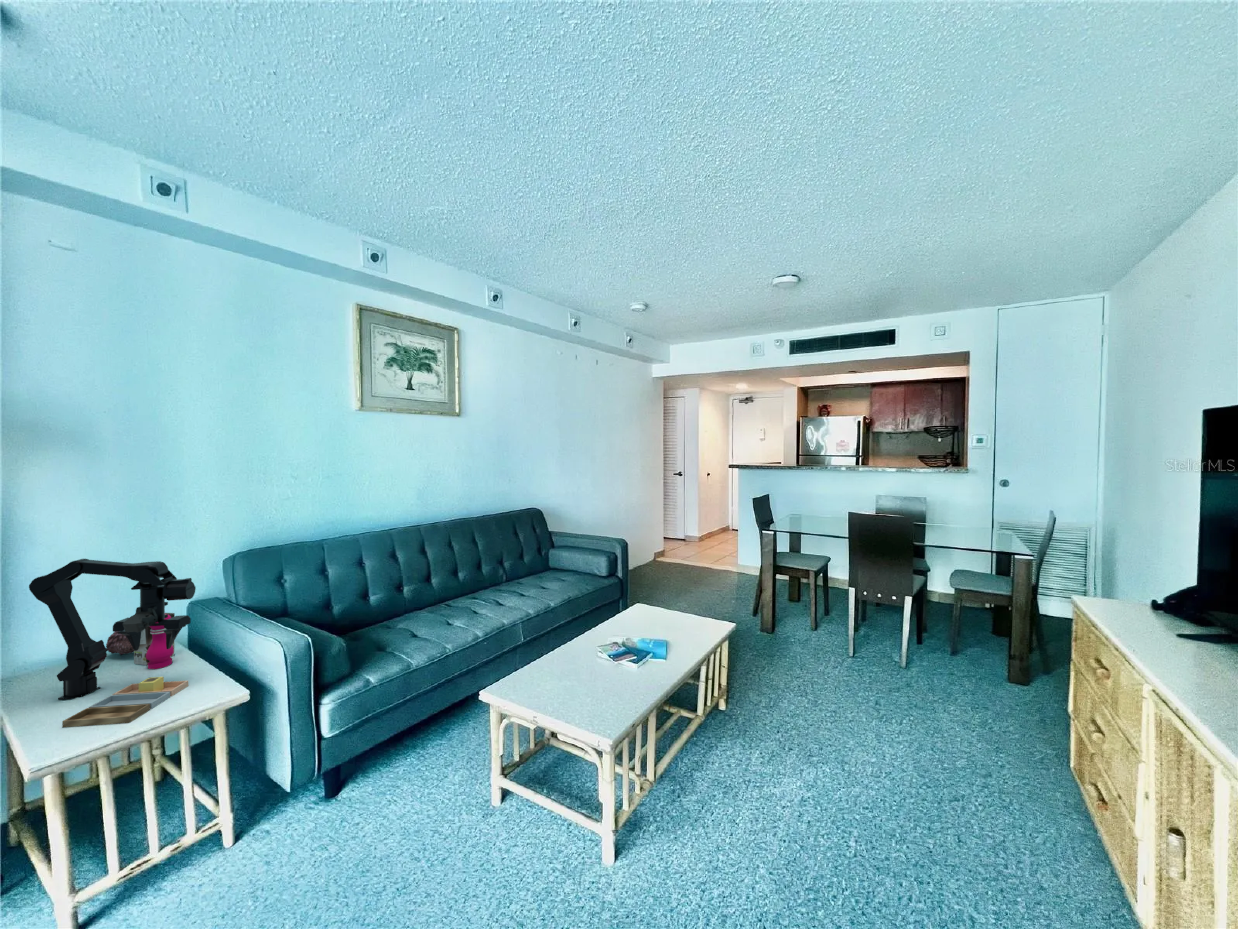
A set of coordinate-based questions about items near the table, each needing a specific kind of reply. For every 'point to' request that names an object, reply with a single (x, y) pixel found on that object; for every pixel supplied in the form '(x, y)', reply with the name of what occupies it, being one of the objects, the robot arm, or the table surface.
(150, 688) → the letter cube
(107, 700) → the tray
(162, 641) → the pepper mill
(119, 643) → the pine cone
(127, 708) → the tray
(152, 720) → the table surface
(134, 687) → the tray
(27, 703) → the table surface
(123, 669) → the table surface
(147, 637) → the coffee box
